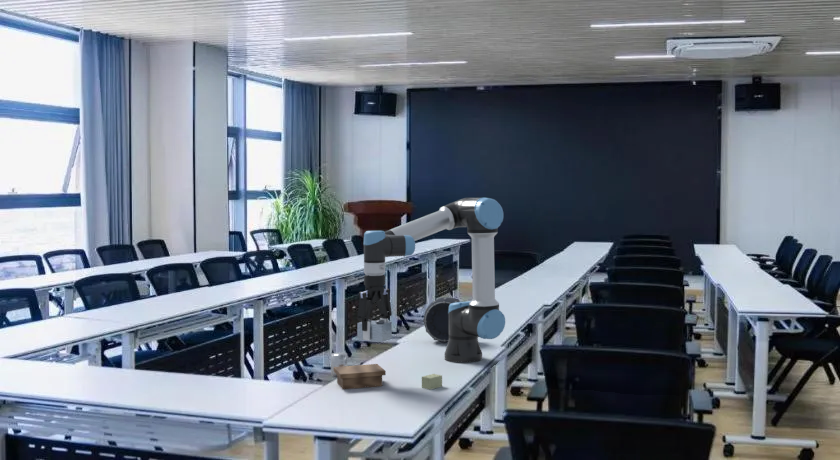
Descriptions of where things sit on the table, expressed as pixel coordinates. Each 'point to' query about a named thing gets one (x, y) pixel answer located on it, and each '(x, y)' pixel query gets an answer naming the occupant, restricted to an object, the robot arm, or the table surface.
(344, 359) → the grey metal can
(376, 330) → the housing
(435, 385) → the olive painted block
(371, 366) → the walnut stand
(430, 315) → the dark grey drum
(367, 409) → the table surface
